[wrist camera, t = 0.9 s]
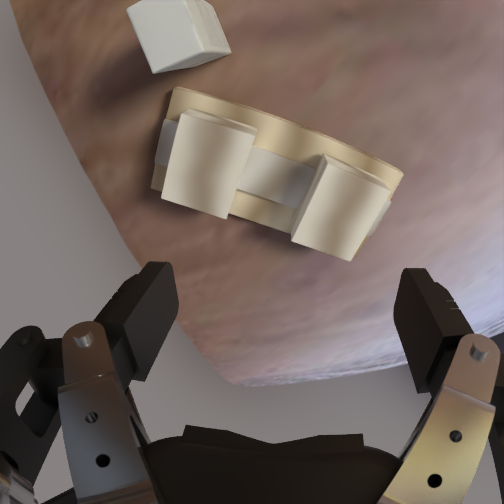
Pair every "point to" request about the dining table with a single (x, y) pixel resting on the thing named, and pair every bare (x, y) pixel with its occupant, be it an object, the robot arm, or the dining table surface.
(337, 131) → the dining table surface
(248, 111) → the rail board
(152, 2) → the skincare box
